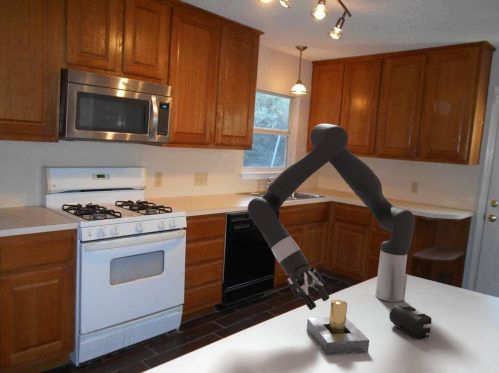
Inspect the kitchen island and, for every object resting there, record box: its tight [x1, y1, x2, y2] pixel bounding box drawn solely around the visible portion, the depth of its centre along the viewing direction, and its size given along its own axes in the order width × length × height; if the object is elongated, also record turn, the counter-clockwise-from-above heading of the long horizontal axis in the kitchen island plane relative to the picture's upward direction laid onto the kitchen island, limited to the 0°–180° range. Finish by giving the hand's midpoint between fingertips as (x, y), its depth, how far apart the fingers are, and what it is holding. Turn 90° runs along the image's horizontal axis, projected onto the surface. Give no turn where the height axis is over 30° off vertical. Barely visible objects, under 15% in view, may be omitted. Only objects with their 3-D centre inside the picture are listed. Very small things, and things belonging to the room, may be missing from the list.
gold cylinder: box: [328, 299, 348, 334], centre depth 113 cm, size 4×4×11 cm
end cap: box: [388, 304, 432, 340], centre depth 122 cm, size 10×7×7 cm
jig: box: [306, 316, 370, 356], centre depth 113 cm, size 12×14×4 cm
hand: (320, 304), depth 116 cm, fingers open, 8 cm apart
